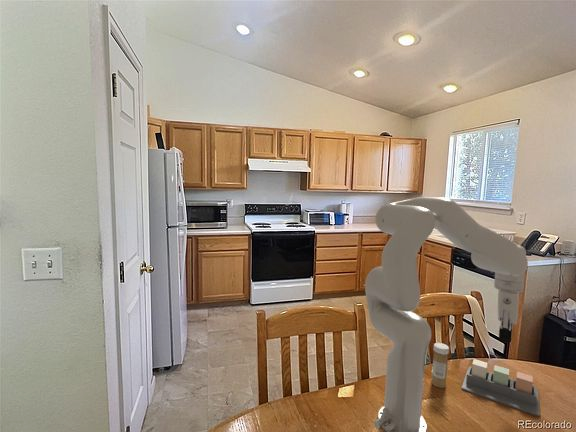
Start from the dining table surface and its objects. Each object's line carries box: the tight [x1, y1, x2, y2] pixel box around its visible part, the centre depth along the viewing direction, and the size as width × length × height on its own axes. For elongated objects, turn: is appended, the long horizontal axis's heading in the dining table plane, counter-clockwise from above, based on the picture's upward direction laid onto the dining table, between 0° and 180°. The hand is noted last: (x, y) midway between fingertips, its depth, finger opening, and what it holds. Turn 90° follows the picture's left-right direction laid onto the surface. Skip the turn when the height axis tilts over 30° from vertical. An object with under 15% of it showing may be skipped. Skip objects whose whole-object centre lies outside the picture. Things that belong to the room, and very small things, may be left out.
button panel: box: [461, 365, 541, 418], centre depth 103 cm, size 14×20×4 cm
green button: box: [492, 364, 510, 387], centre depth 103 cm, size 4×4×4 cm
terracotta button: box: [515, 371, 534, 394], centre depth 100 cm, size 4×4×4 cm
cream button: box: [471, 358, 488, 380], centre depth 107 cm, size 4×4×4 cm
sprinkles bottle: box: [431, 342, 450, 389], centre depth 106 cm, size 5×5×14 cm
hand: (504, 340), depth 102 cm, fingers closed
